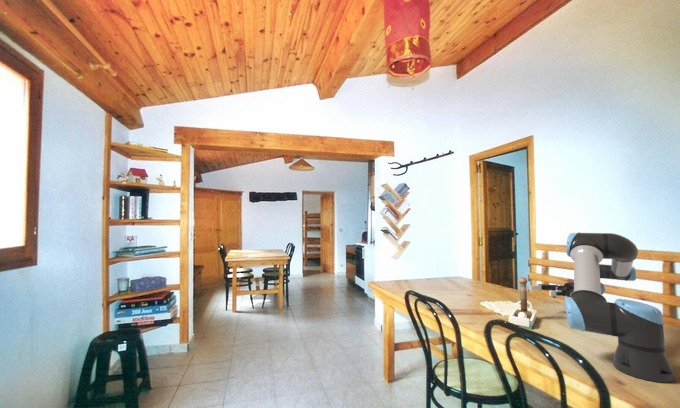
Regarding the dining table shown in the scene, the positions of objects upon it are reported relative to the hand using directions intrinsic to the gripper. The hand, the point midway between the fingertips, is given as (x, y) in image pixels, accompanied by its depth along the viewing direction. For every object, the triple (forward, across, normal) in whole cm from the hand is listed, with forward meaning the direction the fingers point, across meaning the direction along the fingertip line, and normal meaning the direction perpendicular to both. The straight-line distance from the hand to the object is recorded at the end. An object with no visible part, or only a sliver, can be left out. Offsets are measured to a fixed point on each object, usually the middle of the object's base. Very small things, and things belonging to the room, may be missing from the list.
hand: (539, 290), depth 164 cm
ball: (+15, -5, -11) cm, 19 cm away
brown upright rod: (+10, -1, -13) cm, 17 cm away
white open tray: (+15, -5, -14) cm, 21 cm away
